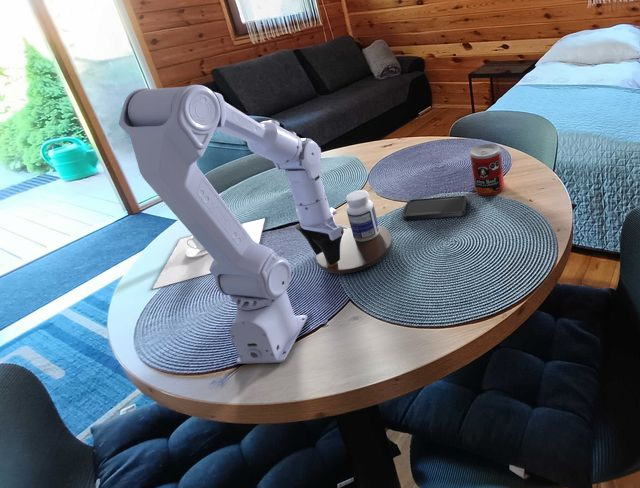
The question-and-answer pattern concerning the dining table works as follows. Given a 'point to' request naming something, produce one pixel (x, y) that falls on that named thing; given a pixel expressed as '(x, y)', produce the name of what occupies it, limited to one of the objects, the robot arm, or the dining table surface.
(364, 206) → the pill bottle
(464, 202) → the phone
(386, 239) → the tray
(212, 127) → the robot arm
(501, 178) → the canned food
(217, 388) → the dining table surface
